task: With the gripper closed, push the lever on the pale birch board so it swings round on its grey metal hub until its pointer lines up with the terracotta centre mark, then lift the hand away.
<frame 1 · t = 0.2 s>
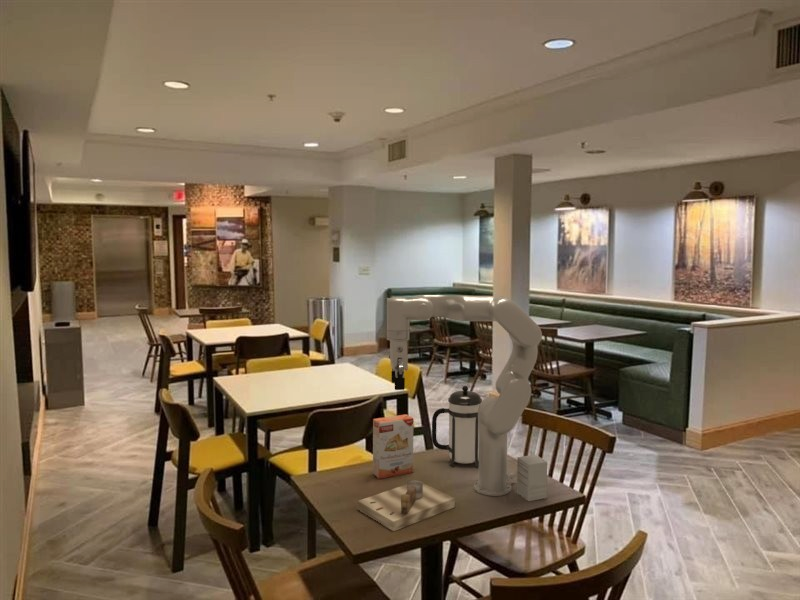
hand: (397, 386, 195), 37 cm above the table, tool pointing down, fingers open, 9 cm apart
coffee press: (461, 463, 227), on the table
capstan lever: (409, 496, 183), point 6 cm above the table, hinge at 35.0°
cracker box: (393, 474, 216), on the table
supplement box: (531, 496, 197), on the table
dial board: (406, 508, 187), on the table
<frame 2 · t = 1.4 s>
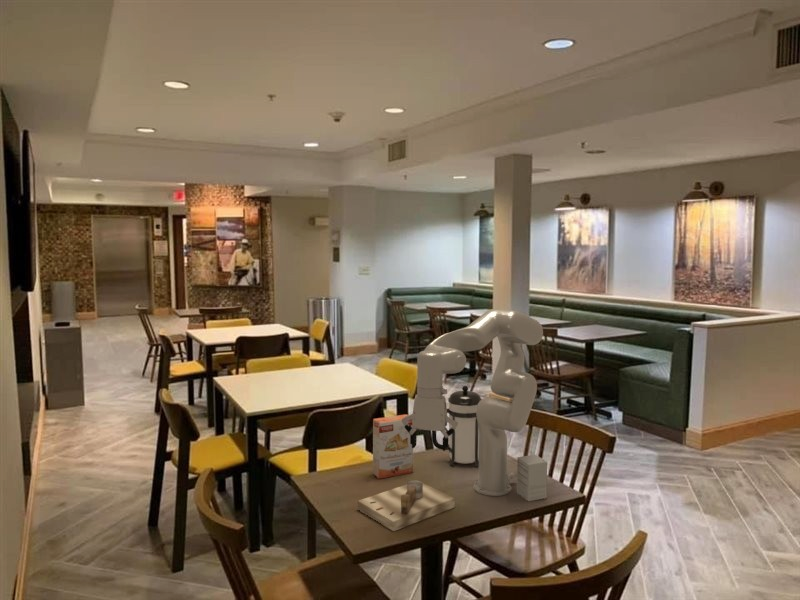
hand: (429, 447, 178), 22 cm above the table, tool pointing down, fingers open, 9 cm apart
nothing on the table moved.
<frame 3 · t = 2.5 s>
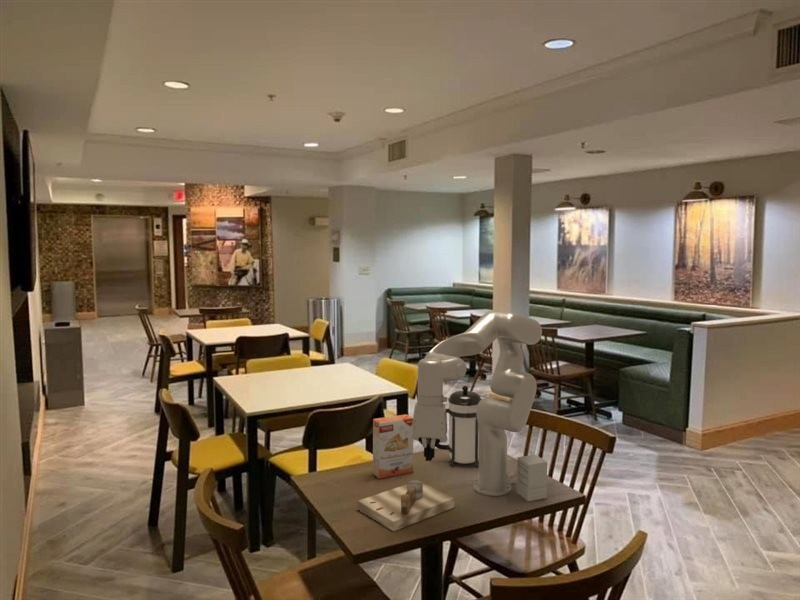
hand: (429, 459, 178), 19 cm above the table, tool pointing down, fingers closed
nothing on the table moved.
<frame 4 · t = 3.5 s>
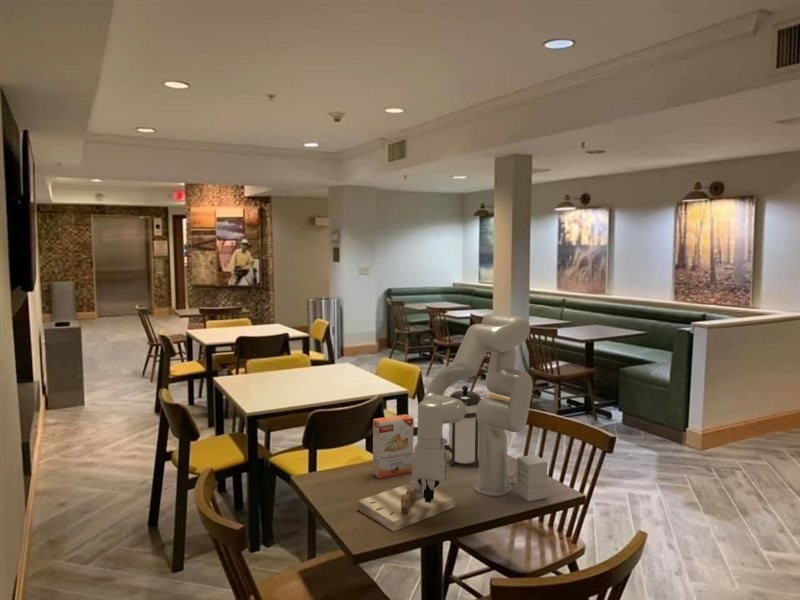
hand: (428, 500, 179), 6 cm above the table, tool pointing down, fingers closed
nothing on the table moved.
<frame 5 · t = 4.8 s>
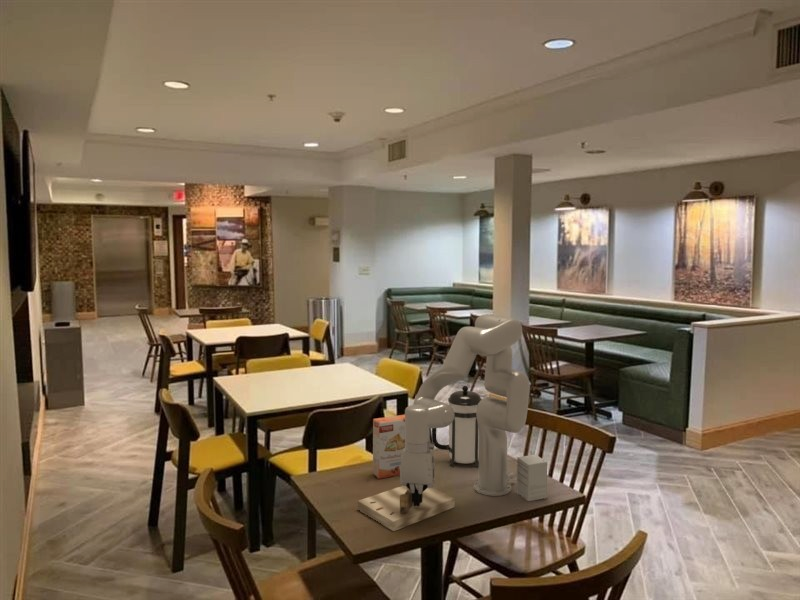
hand: (417, 504, 180), 4 cm above the table, tool pointing down, fingers closed
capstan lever: (409, 496, 183), point 6 cm above the table, hinge at 33.2°, touching gripper
everything else where it was.
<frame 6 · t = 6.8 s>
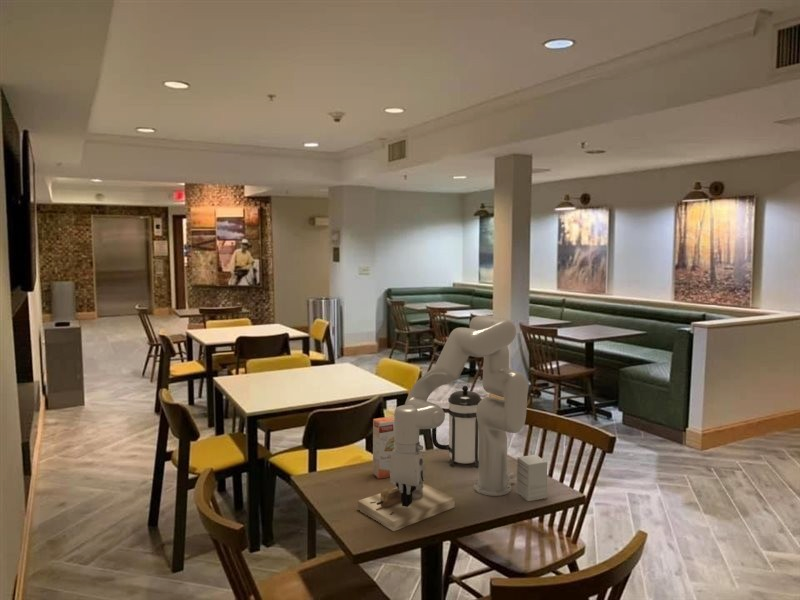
hand: (406, 504, 180), 4 cm above the table, tool pointing down, fingers closed
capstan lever: (399, 493, 185), point 6 cm above the table, hinge at -0.6°
everything else where it was.
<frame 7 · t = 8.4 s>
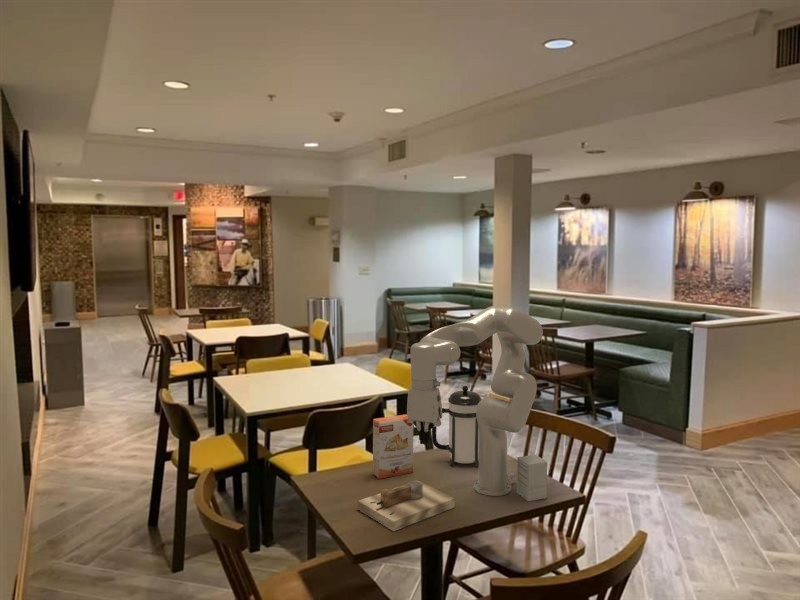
hand: (424, 442, 179), 24 cm above the table, tool pointing down, fingers closed
nothing on the table moved.
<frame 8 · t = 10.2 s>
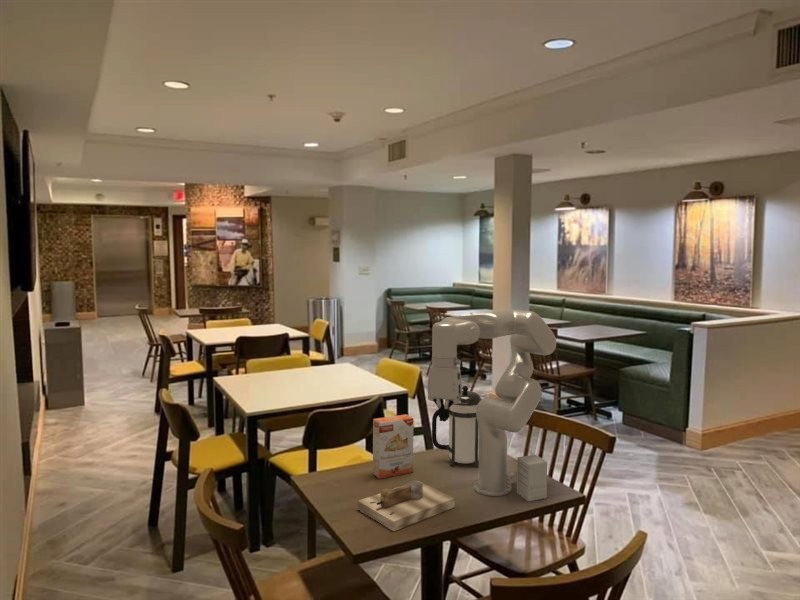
hand: (443, 420, 184), 29 cm above the table, tool pointing down, fingers closed
nothing on the table moved.
at the end: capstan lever at -1° (first picture: +35°) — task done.
